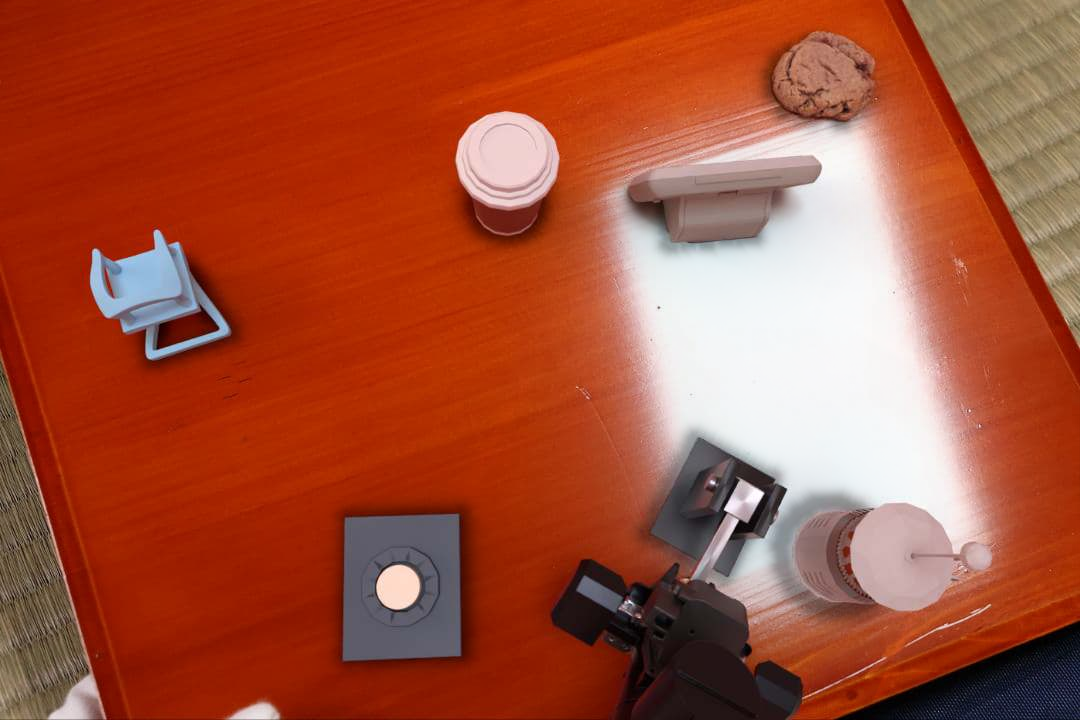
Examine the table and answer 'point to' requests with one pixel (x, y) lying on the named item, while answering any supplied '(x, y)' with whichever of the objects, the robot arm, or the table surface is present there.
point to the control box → (438, 607)
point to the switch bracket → (713, 504)
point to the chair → (153, 294)
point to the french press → (880, 556)
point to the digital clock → (721, 195)
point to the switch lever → (727, 526)
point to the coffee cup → (507, 169)
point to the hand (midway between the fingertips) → (692, 576)
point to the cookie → (824, 77)
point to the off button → (399, 586)
